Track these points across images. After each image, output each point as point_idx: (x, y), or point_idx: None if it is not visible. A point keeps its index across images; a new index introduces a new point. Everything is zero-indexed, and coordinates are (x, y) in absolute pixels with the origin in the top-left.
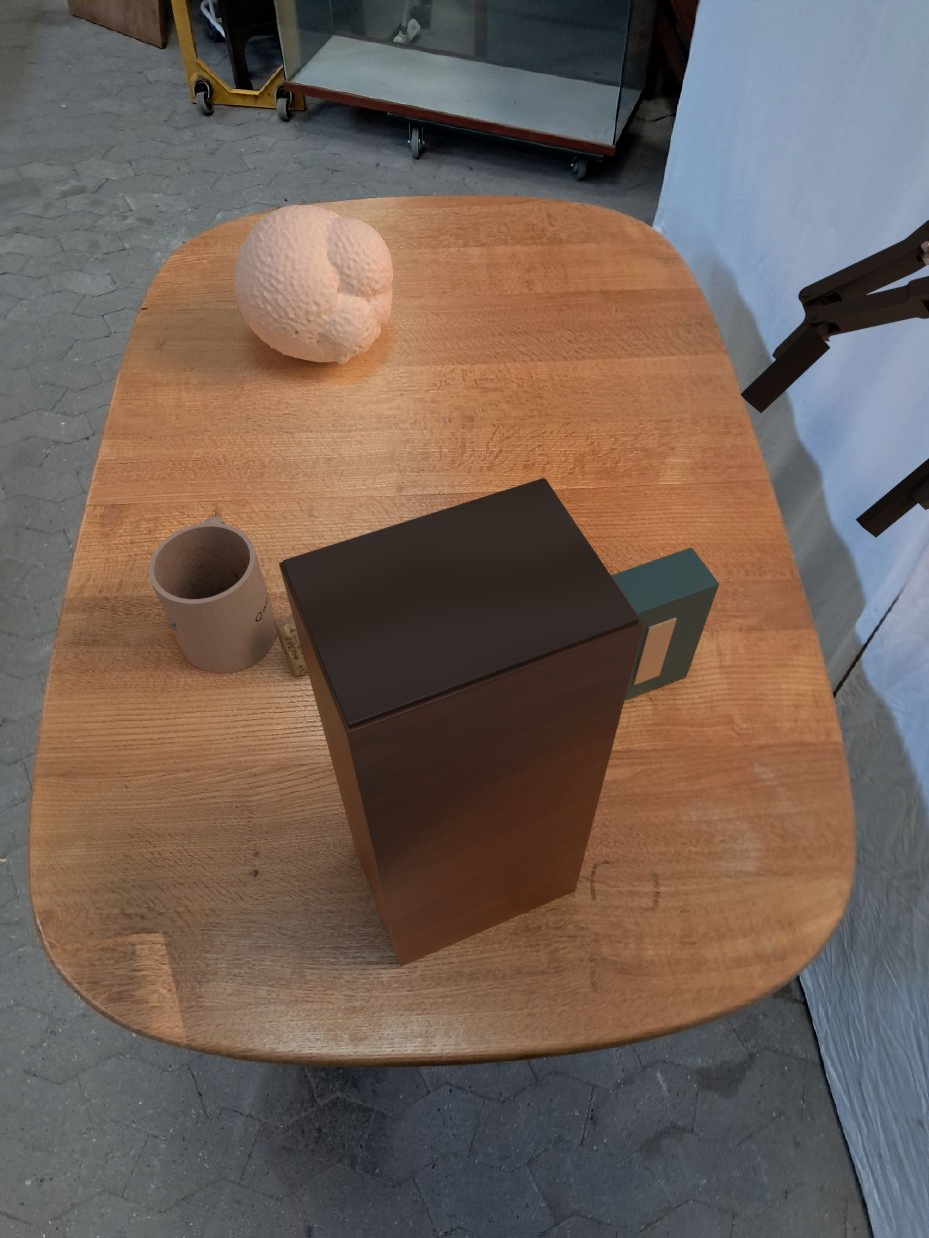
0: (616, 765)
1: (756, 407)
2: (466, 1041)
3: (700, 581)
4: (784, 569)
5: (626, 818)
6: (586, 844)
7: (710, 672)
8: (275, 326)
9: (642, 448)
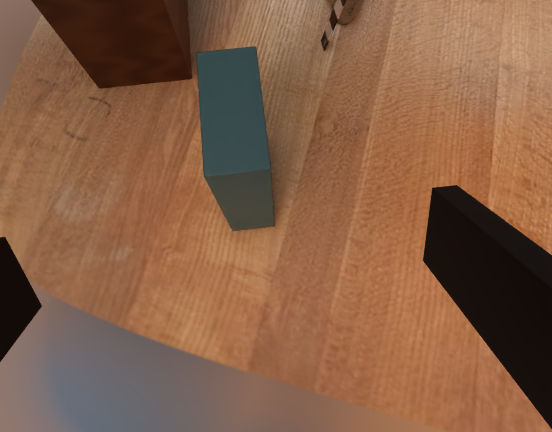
0: (175, 145)
1: (427, 235)
2: None
3: (215, 156)
4: (328, 394)
5: (132, 137)
6: (46, 19)
7: (230, 254)
8: None
9: None
